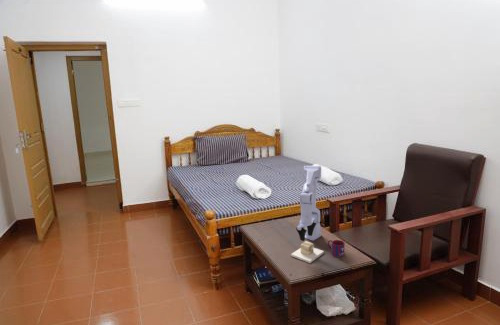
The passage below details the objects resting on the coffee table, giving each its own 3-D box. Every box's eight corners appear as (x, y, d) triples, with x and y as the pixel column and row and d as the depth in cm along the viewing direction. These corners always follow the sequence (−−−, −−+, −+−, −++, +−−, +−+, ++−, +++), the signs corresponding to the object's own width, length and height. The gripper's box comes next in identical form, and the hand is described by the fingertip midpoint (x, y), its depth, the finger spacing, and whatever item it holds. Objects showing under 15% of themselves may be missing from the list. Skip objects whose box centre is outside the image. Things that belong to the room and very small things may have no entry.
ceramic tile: (305, 246, 193) (305, 244, 193) (323, 253, 185) (323, 251, 185) (291, 256, 183) (291, 254, 183) (309, 263, 175) (309, 261, 175)
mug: (337, 258, 179) (338, 246, 177) (324, 251, 187) (324, 239, 186) (346, 255, 182) (347, 243, 181) (333, 247, 191) (333, 236, 189)
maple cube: (305, 249, 188) (305, 241, 186) (313, 252, 184) (313, 243, 183) (300, 252, 184) (300, 244, 183) (308, 255, 181) (308, 247, 180)
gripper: (307, 208, 188) (307, 231, 191) (292, 216, 177) (292, 240, 181) (318, 211, 183) (318, 234, 186) (303, 220, 173) (303, 244, 176)
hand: (306, 237), depth 183 cm, fingers open, 7 cm apart
